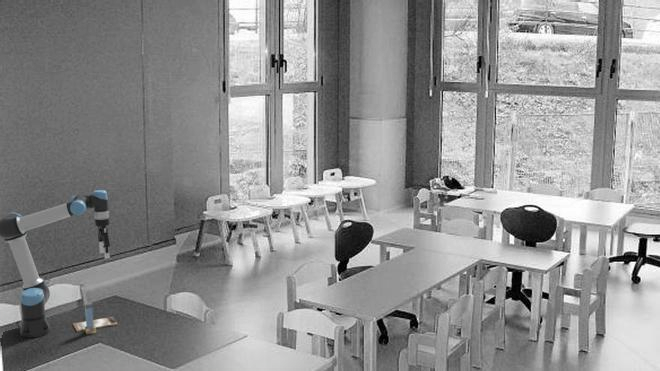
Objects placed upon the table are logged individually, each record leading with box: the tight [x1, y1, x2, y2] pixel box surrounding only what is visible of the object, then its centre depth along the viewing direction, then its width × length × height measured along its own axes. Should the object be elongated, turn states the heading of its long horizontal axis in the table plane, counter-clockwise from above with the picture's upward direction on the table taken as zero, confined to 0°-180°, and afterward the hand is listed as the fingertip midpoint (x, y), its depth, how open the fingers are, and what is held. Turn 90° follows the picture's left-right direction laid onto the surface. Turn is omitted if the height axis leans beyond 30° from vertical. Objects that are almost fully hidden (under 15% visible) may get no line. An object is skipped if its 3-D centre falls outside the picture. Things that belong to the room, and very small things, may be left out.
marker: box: [84, 301, 94, 328], centre depth 433 cm, size 4×4×14 cm
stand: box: [84, 325, 97, 335], centre depth 434 cm, size 5×5×3 cm
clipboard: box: [72, 316, 119, 333], centre depth 446 cm, size 22×14×1 cm, turn 116°
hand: (104, 255), depth 449 cm, fingers open, 13 cm apart
